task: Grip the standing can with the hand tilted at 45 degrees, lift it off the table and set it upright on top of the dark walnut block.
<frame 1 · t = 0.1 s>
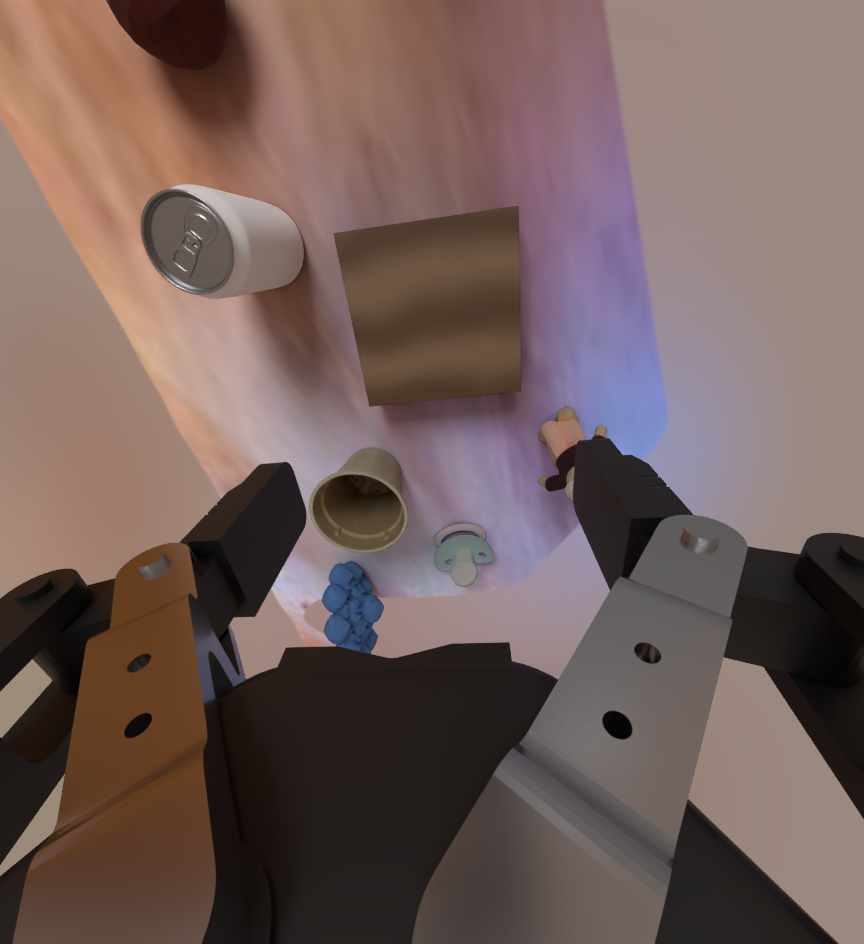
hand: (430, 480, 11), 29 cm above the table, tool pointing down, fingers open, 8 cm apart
grandmother figurine: (554, 430, 42), on the table
pacifier: (461, 539, 50), on the table
walnut block: (436, 312, 36), on the table
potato: (189, 5, 28), on the table
flower pot: (375, 470, 45), on the table
grapes: (368, 575, 53), on the table
can: (270, 246, 35), on the table
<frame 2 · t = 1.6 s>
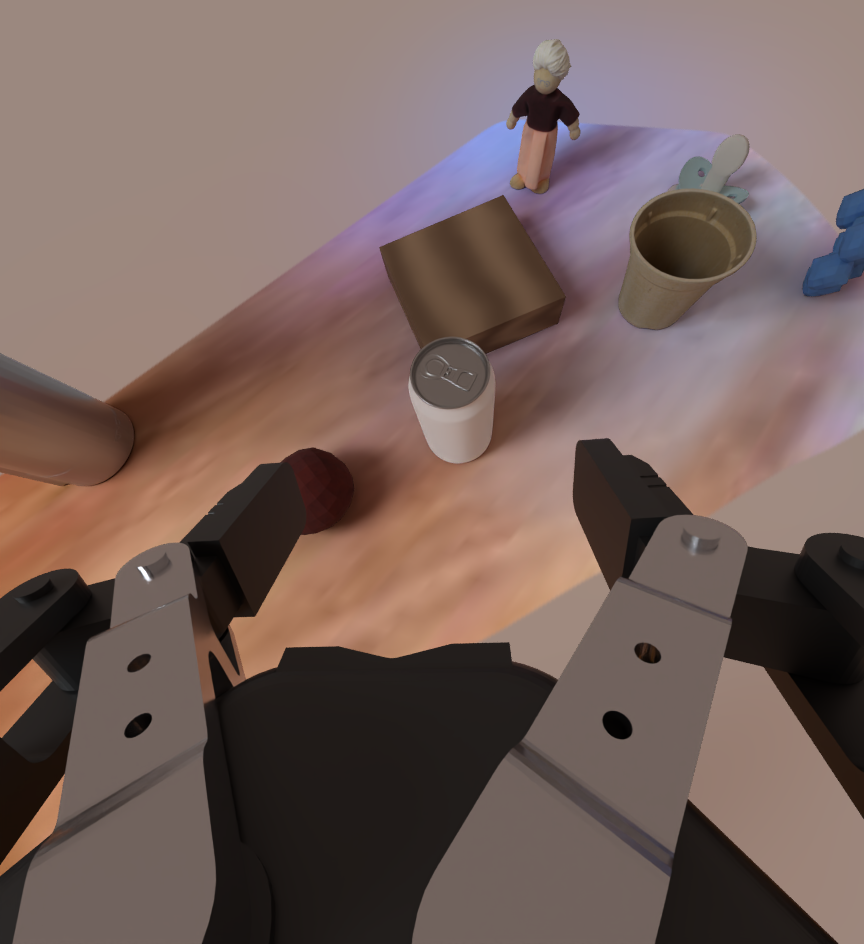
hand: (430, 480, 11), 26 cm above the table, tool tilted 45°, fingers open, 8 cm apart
grandmother figurine: (534, 185, 46), on the table
pacifier: (695, 206, 43), on the table
walnut block: (468, 298, 43), on the table
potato: (322, 501, 39), on the table
flower pot: (647, 305, 40), on the table
grapes: (819, 273, 39), on the table
can: (459, 434, 39), on the table
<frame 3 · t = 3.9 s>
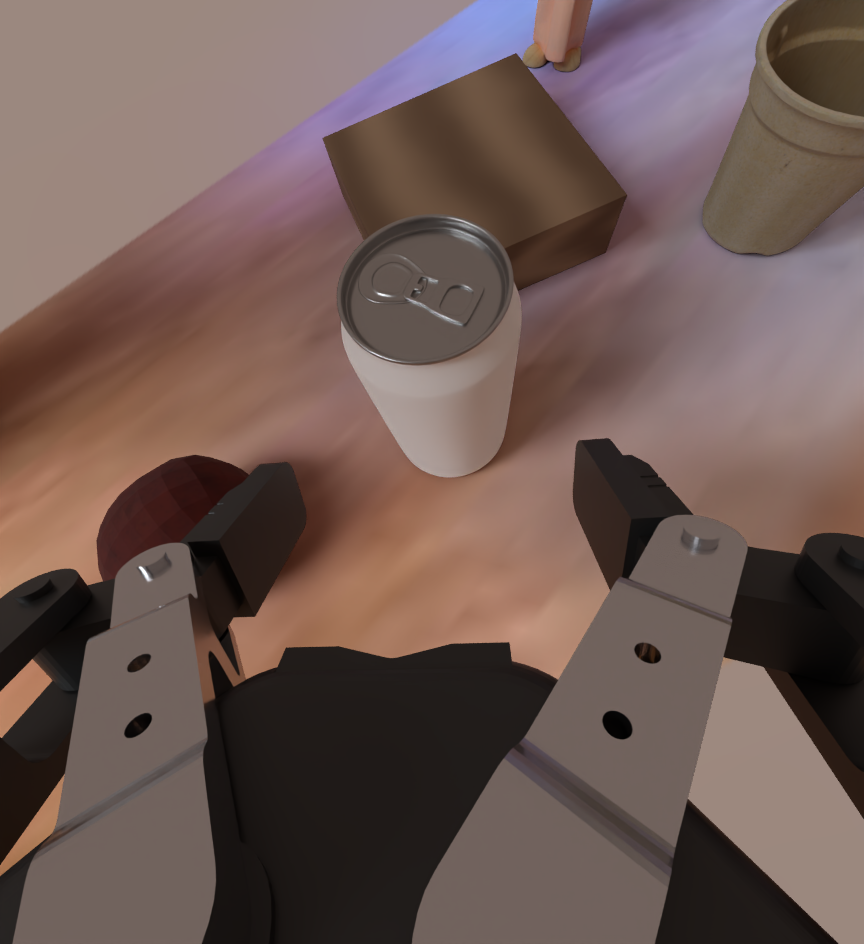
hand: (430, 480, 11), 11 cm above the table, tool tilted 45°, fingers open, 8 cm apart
grandmother figurine: (558, 62, 31), on the table
walnut block: (464, 221, 28), on the table
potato: (230, 542, 24), on the table
flower pot: (748, 221, 25), on the table
can: (451, 429, 24), on the table
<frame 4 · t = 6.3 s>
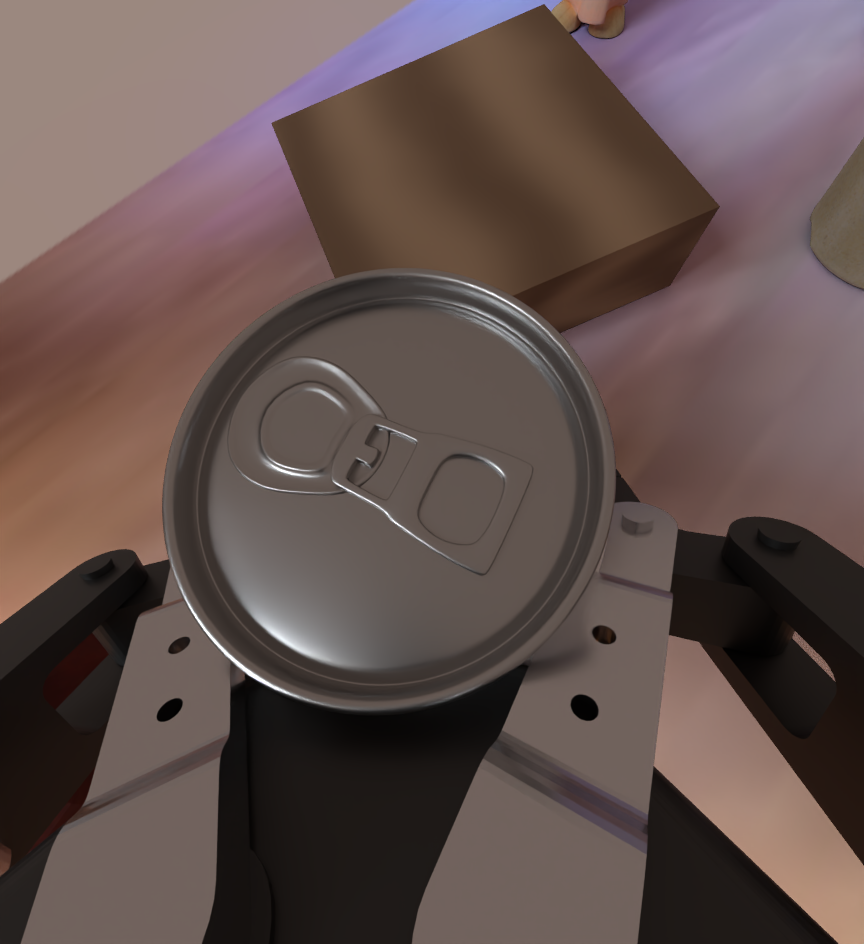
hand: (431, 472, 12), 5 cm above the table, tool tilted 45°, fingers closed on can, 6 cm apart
grandmother figurine: (595, 27, 24), on the table
walnut block: (469, 239, 20), on the table
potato: (126, 711, 16), on the table
can: (450, 546, 16), on the table, touching gripper
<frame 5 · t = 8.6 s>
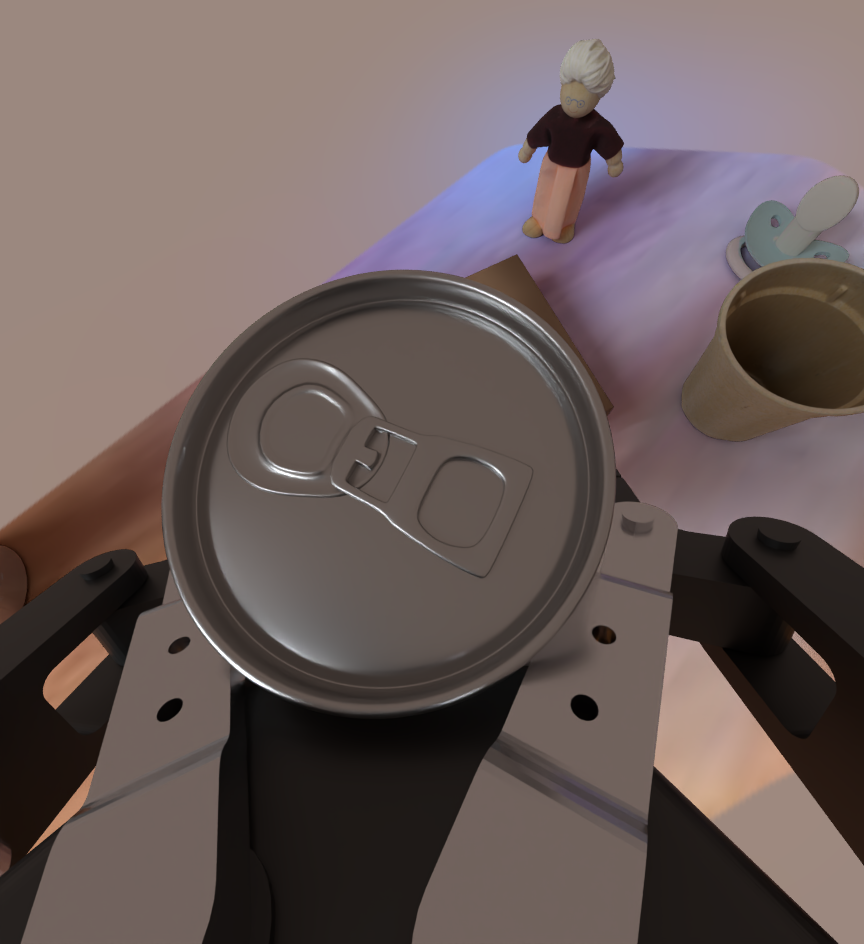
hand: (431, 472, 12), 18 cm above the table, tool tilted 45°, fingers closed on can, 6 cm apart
grandmother figurine: (555, 231, 35), on the table
pacifier: (766, 266, 32), on the table
walnut block: (472, 391, 32), on the table
flower pot: (722, 403, 29), on the table
can: (450, 547, 16), point 12 cm above the table, touching gripper
when the fingers open (11 cm above the table, at t = 11.3 s): can drops 1 cm, resting on walnut block.
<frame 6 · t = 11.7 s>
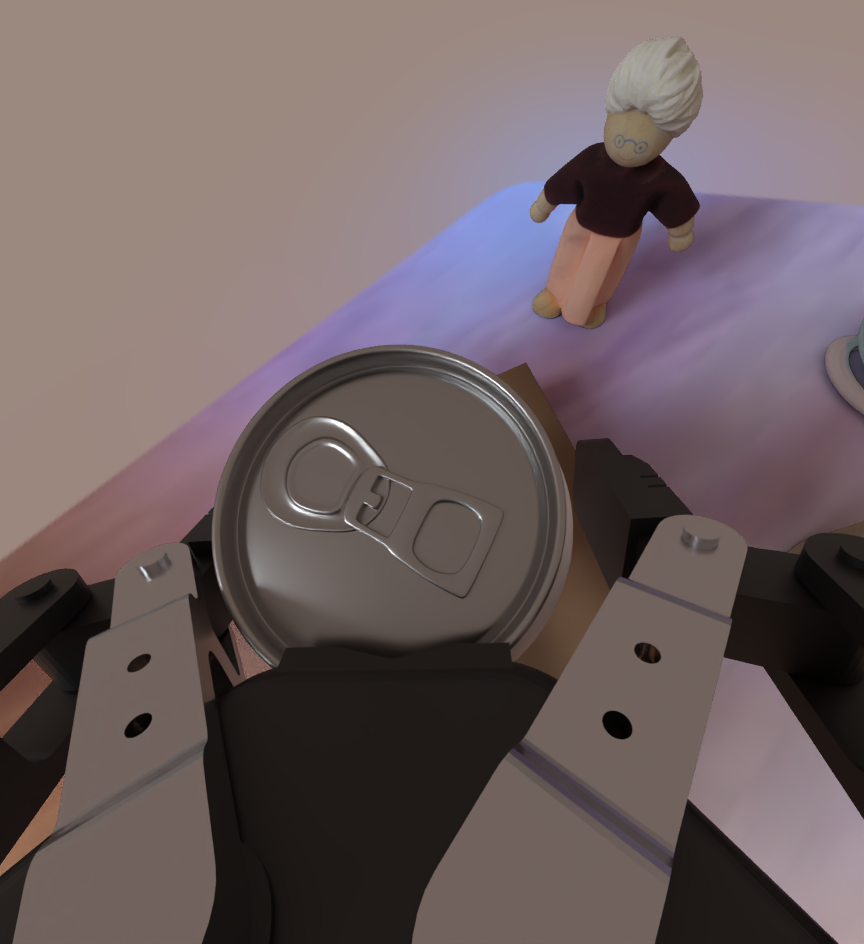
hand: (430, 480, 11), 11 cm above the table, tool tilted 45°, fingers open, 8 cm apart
grandmother figurine: (578, 310, 25), on the table
walnut block: (457, 555, 21), on the table
flower pot: (837, 600, 19), on the table
can: (452, 554, 18), point 4 cm above the table, touching walnut block
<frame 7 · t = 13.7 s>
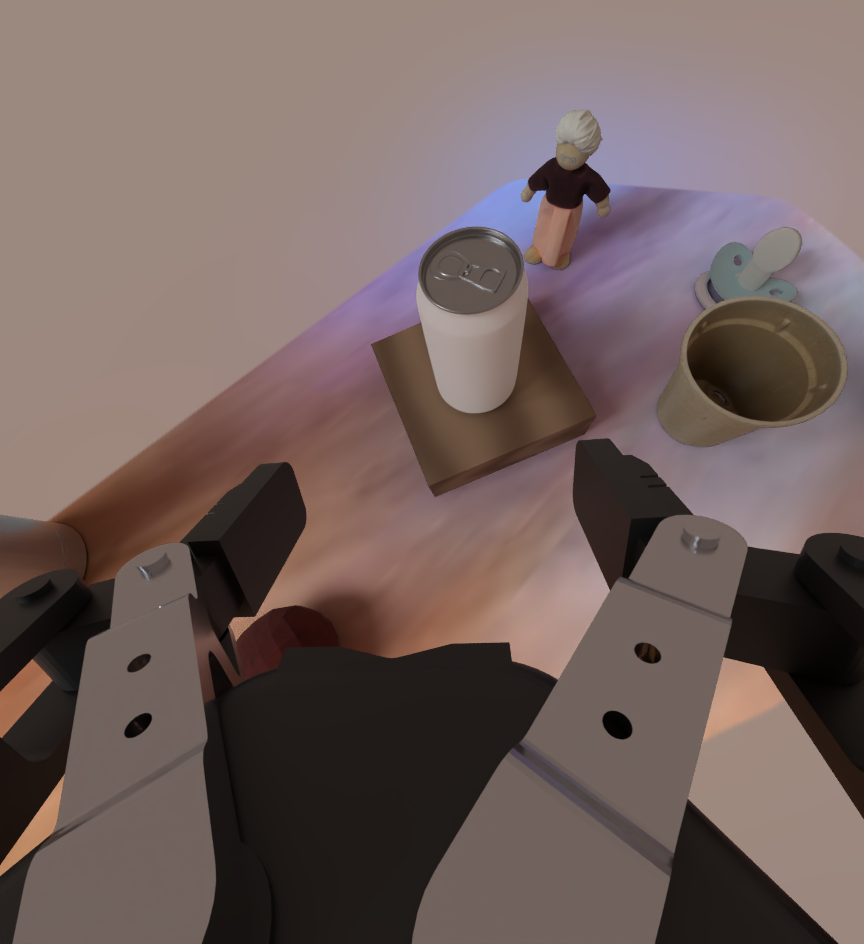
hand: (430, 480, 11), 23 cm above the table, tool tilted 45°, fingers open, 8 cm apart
grandmother figurine: (552, 259, 40), on the table
pacifier: (730, 298, 36), on the table
walnut block: (477, 399, 36), on the table
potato: (303, 655, 32), on the table
flower pot: (692, 414, 34), on the table
can: (476, 380, 33), point 4 cm above the table, touching walnut block
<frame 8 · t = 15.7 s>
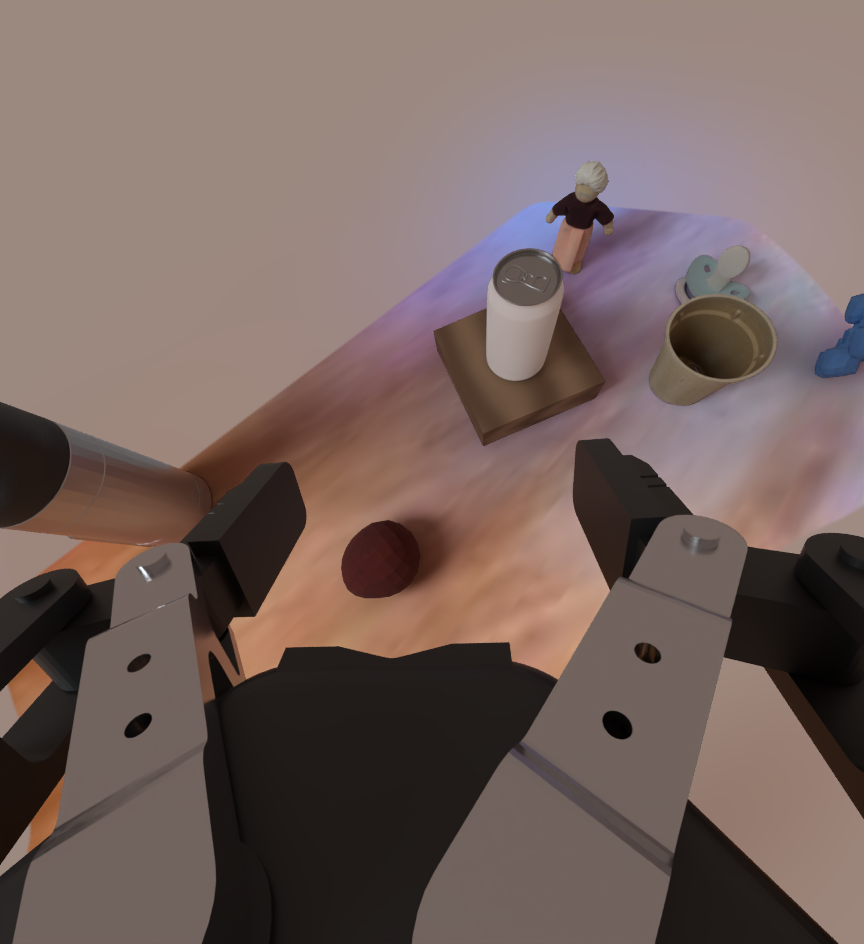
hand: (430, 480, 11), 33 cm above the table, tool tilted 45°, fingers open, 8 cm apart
grandmother figurine: (568, 265, 51), on the table
pacifier: (701, 297, 48), on the table
walnut block: (512, 373, 48), on the table
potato: (388, 562, 43), on the table
flower pot: (675, 382, 45), on the table
grapes: (829, 354, 44), on the table
can: (515, 357, 44), point 4 cm above the table, touching walnut block
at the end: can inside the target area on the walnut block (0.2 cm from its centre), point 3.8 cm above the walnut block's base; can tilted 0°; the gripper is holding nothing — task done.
